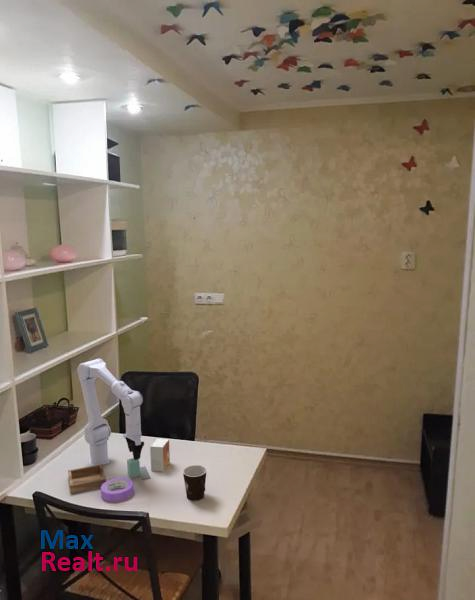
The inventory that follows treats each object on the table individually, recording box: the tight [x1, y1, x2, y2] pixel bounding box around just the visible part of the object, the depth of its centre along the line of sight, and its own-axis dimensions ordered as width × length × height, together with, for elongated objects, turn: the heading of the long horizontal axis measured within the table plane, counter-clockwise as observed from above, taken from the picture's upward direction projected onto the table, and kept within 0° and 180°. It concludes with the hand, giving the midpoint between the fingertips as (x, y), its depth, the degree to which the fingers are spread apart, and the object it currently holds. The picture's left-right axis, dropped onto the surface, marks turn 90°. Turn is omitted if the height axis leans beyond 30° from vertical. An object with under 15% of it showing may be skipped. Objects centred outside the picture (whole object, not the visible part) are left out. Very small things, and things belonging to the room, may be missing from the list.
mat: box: [139, 466, 151, 481], centre depth 192 cm, size 10×10×1 cm
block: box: [126, 457, 141, 479], centre depth 192 cm, size 4×4×6 cm
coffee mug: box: [182, 464, 207, 502], centre depth 174 cm, size 12×9×10 cm
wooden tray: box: [67, 464, 107, 495], centre depth 187 cm, size 13×13×4 cm
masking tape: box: [100, 477, 134, 503], centre depth 178 cm, size 12×12×4 cm
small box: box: [149, 438, 171, 472], centre depth 199 cm, size 8×6×10 cm
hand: (134, 455), depth 191 cm, fingers open, 7 cm apart
